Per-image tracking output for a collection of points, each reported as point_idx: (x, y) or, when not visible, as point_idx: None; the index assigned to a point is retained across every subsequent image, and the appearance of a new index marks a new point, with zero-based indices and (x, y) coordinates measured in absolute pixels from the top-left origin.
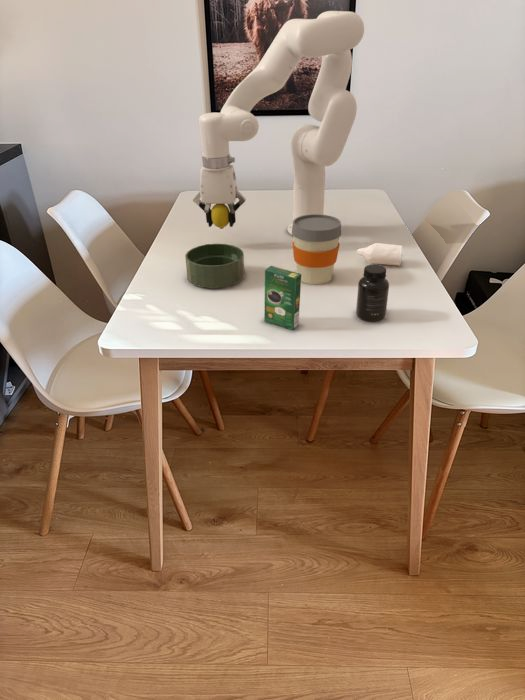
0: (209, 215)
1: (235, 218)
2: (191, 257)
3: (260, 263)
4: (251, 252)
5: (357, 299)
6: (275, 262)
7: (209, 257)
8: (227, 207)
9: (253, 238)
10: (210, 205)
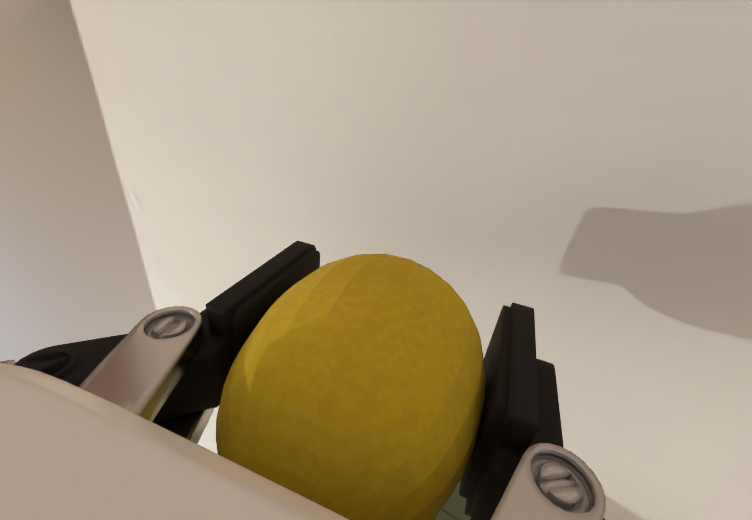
0: None
1: (555, 383)
2: None
3: (633, 481)
4: (621, 350)
5: None
6: (737, 501)
7: None
8: (431, 513)
9: (743, 72)
10: (168, 392)
